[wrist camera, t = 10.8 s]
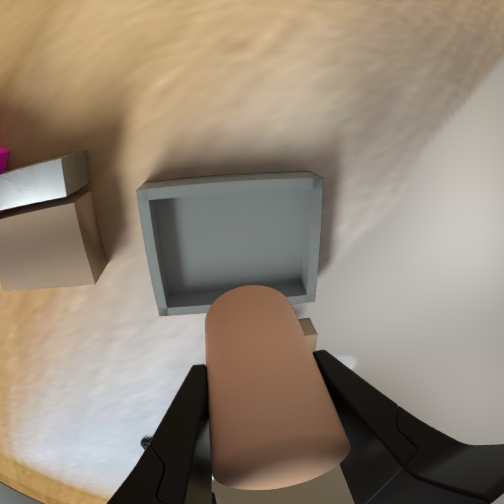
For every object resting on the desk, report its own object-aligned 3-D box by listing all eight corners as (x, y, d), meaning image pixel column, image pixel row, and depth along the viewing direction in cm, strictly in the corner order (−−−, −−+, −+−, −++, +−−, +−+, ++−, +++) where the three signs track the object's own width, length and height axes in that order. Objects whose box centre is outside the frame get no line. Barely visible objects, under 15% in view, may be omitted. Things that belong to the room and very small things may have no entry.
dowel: (291, 349, 12) (336, 475, 7) (210, 358, 12) (220, 494, 6) (296, 280, 11) (365, 419, 5) (200, 289, 10) (201, 447, 5)
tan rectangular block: (108, 261, 19) (95, 284, 16) (23, 271, 18) (4, 291, 15) (92, 190, 16) (73, 202, 14) (4, 209, 16) (-19, 224, 13)
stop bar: (90, 182, 16) (66, 196, 13) (9, 198, 15) (-19, 215, 12) (86, 150, 15) (60, 158, 12) (4, 171, 14) (-26, 183, 11)
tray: (305, 285, 21) (314, 301, 19) (163, 297, 20) (159, 316, 18) (311, 171, 18) (323, 177, 16) (144, 182, 16) (136, 190, 15)
